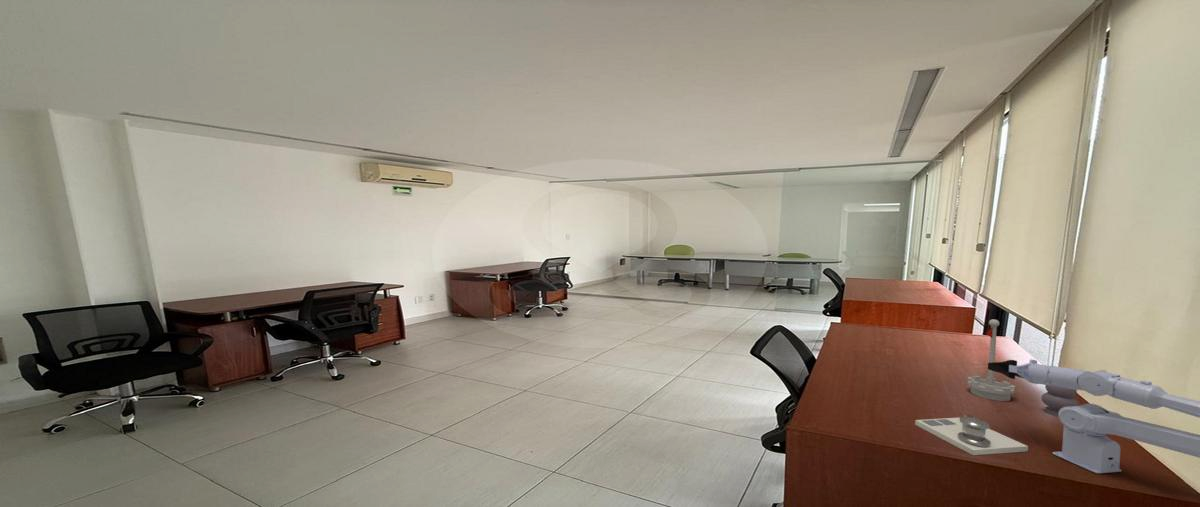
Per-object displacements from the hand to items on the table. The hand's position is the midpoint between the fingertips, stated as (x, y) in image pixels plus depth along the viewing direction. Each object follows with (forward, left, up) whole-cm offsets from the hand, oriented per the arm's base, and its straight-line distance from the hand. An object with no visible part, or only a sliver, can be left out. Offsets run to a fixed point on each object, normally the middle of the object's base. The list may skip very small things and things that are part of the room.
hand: (997, 368), depth 127 cm
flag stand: (+22, -26, -20) cm, 40 cm away
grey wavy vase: (+5, -32, -20) cm, 38 cm away
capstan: (-6, +16, -18) cm, 25 cm away
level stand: (-5, +16, -19) cm, 25 cm away
